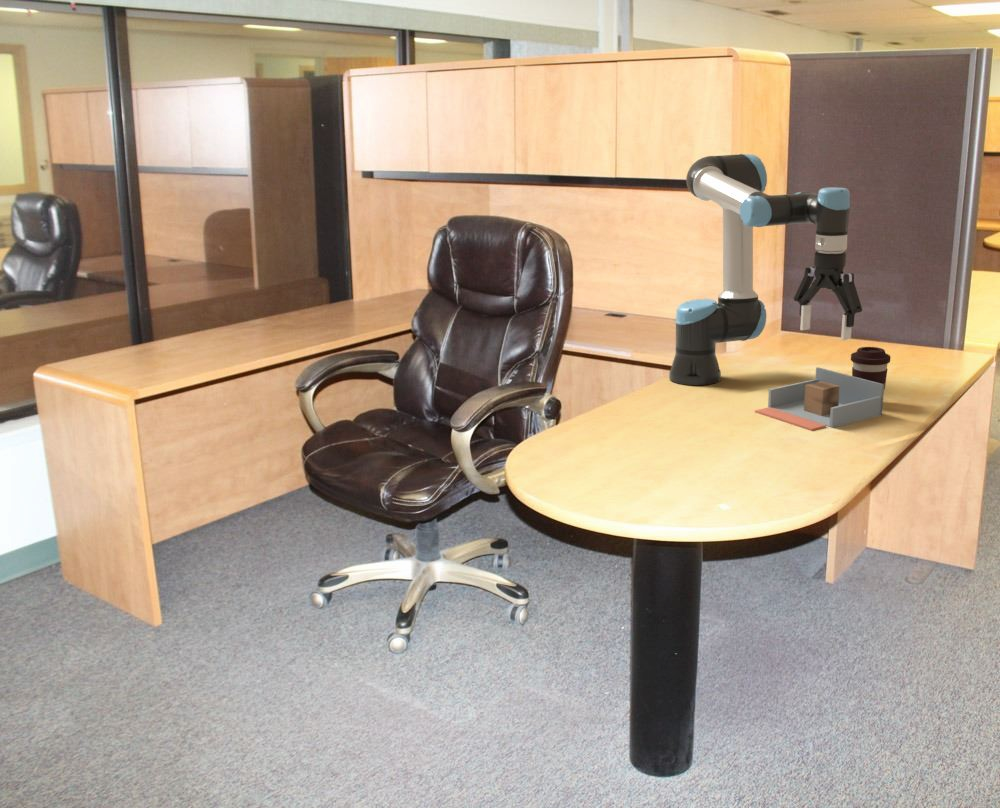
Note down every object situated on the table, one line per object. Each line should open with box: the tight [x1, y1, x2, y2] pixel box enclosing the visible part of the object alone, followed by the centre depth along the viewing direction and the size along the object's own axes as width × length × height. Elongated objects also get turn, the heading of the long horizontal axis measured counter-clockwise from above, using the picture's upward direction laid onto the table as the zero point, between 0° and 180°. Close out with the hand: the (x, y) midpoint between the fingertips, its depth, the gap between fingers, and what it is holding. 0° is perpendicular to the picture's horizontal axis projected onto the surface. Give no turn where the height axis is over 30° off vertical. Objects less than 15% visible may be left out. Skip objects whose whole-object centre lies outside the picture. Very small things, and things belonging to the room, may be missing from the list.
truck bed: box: [767, 366, 885, 429], centre depth 264 cm, size 22×18×9 cm
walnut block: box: [804, 381, 840, 416], centre depth 264 cm, size 6×6×7 cm
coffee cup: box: [850, 346, 892, 390], centre depth 272 cm, size 10×10×15 cm
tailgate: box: [754, 406, 827, 432], centre depth 260 cm, size 20×1×5 cm
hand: (825, 334), depth 259 cm, fingers open, 13 cm apart
